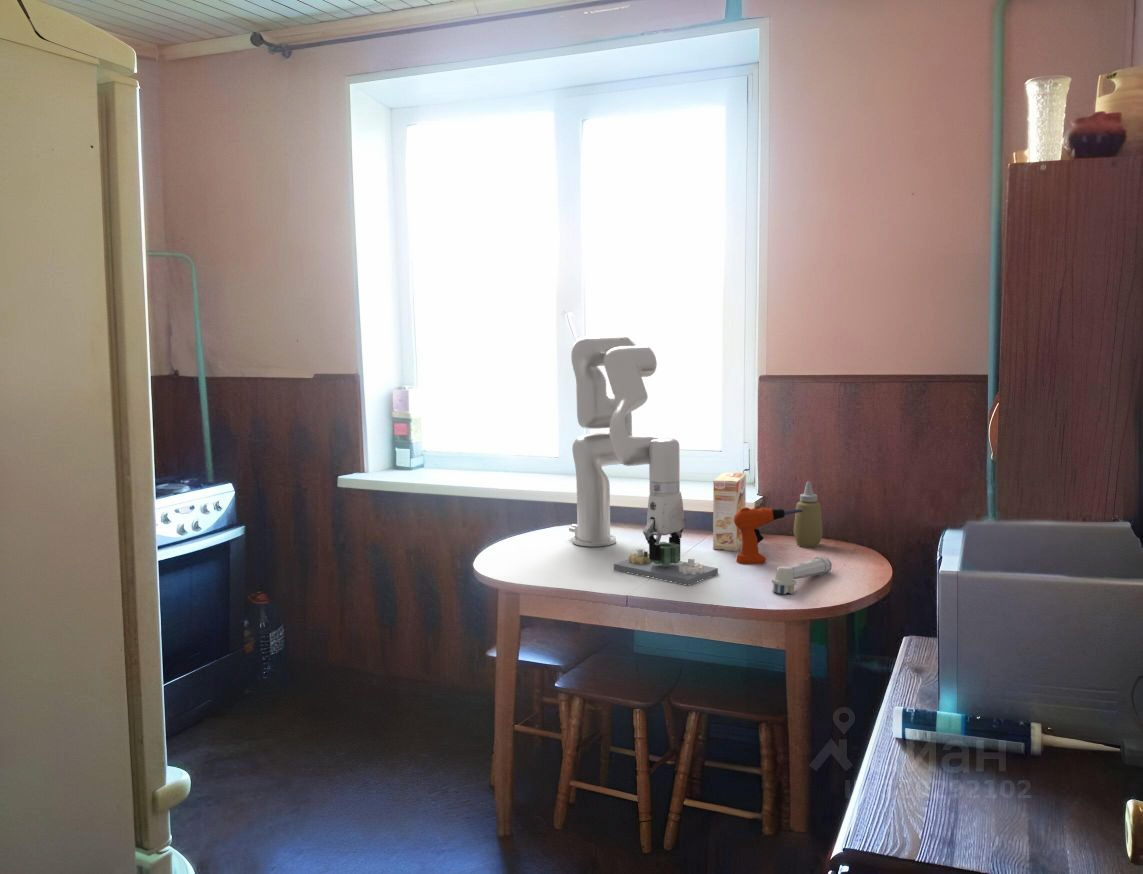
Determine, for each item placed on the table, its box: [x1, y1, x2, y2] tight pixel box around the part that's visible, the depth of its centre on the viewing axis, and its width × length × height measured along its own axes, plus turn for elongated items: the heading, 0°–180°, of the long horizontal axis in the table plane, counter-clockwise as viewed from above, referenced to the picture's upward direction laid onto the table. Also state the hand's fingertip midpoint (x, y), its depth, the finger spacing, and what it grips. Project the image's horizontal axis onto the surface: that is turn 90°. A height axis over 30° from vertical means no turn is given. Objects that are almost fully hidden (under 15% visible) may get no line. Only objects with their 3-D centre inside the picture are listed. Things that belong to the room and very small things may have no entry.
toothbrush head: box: [771, 556, 833, 595], centre depth 212 cm, size 5×7×25 cm
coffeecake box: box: [712, 472, 747, 552], centre depth 251 cm, size 15×7×20 cm, turn 160°
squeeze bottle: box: [793, 481, 824, 548], centre depth 248 cm, size 8×8×18 cm
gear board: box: [613, 548, 719, 586], centre depth 224 cm, size 23×13×4 cm, turn 48°
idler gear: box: [650, 541, 681, 565], centre depth 224 cm, size 8×8×4 cm
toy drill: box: [734, 506, 803, 565], centre depth 232 cm, size 5×19×15 cm, turn 91°
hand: (664, 556), depth 224 cm, fingers open, 7 cm apart
